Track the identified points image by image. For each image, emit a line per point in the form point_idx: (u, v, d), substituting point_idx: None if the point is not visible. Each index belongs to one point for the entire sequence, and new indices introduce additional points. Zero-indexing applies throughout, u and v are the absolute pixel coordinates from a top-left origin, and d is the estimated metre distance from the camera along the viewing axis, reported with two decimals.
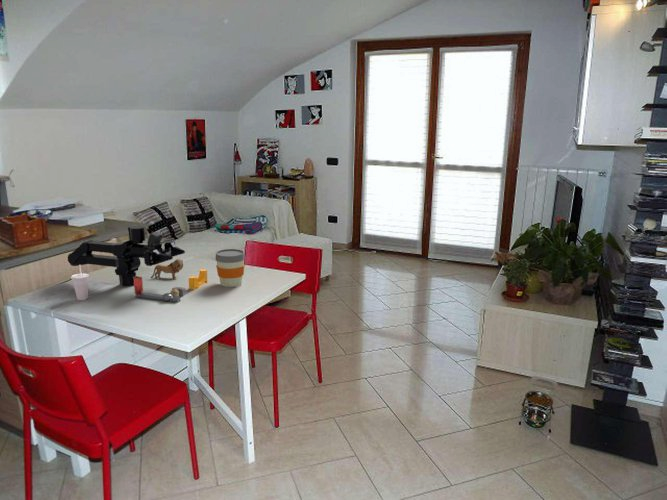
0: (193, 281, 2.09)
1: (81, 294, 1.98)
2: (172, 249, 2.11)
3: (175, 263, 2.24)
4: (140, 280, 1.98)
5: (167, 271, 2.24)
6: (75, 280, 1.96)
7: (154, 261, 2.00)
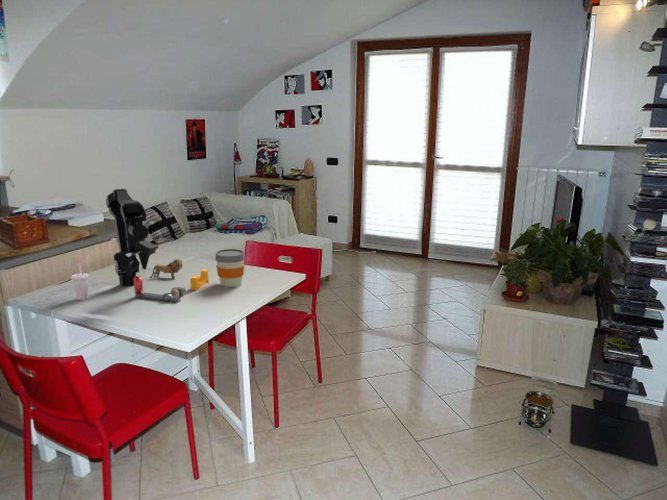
0: (195, 282, 2.09)
1: (81, 294, 1.98)
2: (144, 255, 2.01)
3: (174, 263, 2.24)
4: (140, 280, 1.98)
5: (166, 271, 2.24)
6: (75, 280, 1.96)
7: None
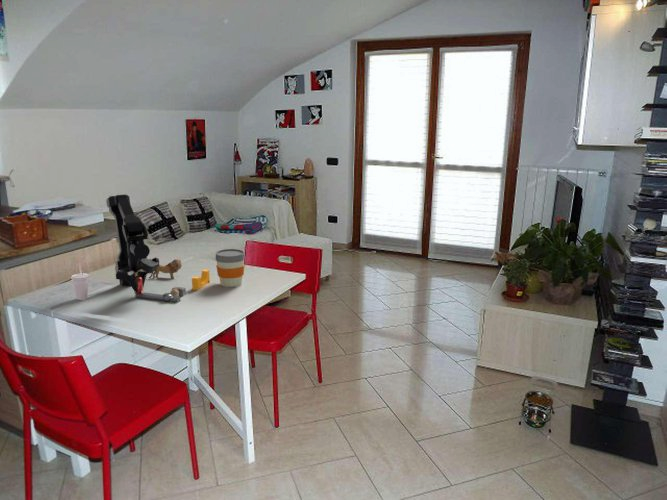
0: (196, 282, 2.09)
1: (81, 294, 1.98)
2: (142, 274, 2.00)
3: (173, 263, 2.24)
4: (140, 280, 1.98)
5: (165, 271, 2.24)
6: (75, 280, 1.96)
7: None
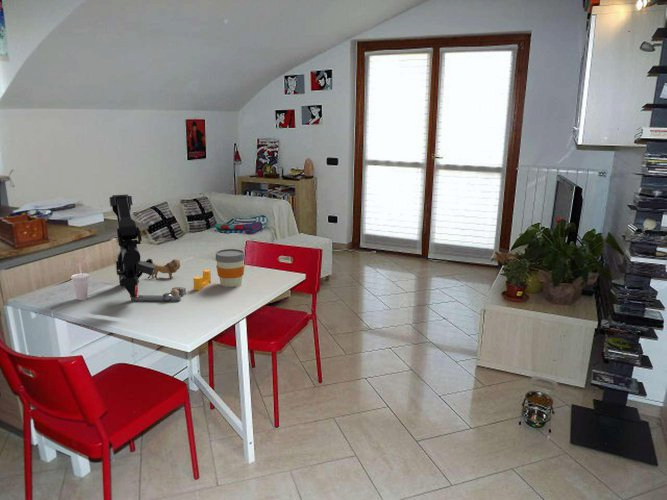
0: (198, 282, 2.09)
1: (81, 294, 1.98)
2: None
3: (172, 263, 2.24)
4: None
5: (164, 271, 2.24)
6: (75, 280, 1.96)
7: None
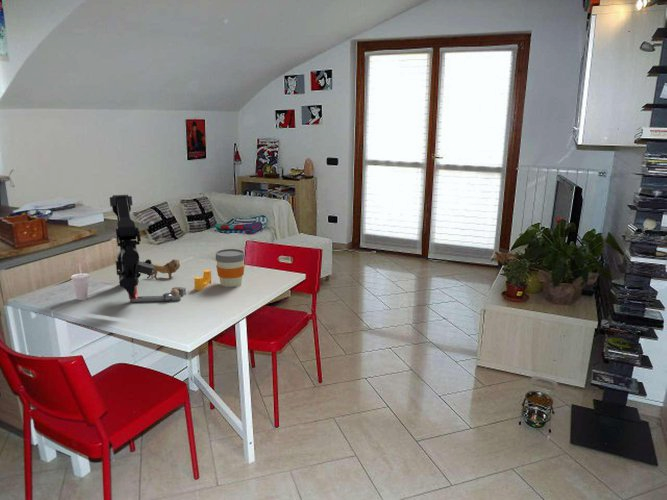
0: (199, 282, 2.08)
1: (81, 294, 1.98)
2: None
3: (172, 263, 2.24)
4: None
5: (164, 271, 2.24)
6: (75, 280, 1.96)
7: None
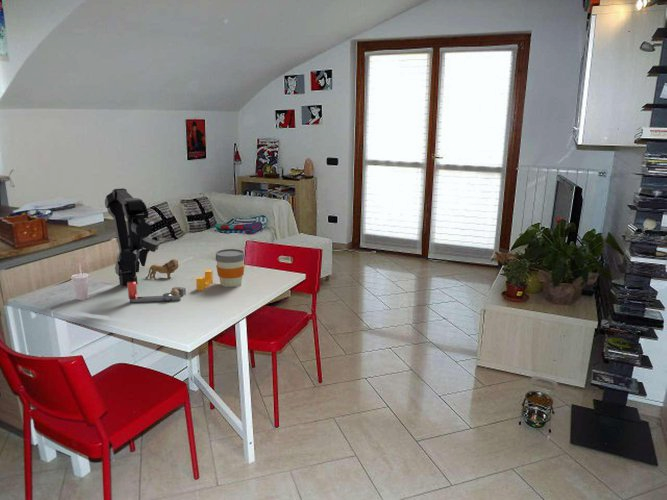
0: (201, 282, 2.08)
1: (81, 294, 1.98)
2: (143, 251, 2.02)
3: (170, 263, 2.24)
4: (135, 284, 1.93)
5: (162, 271, 2.24)
6: (75, 280, 1.96)
7: None
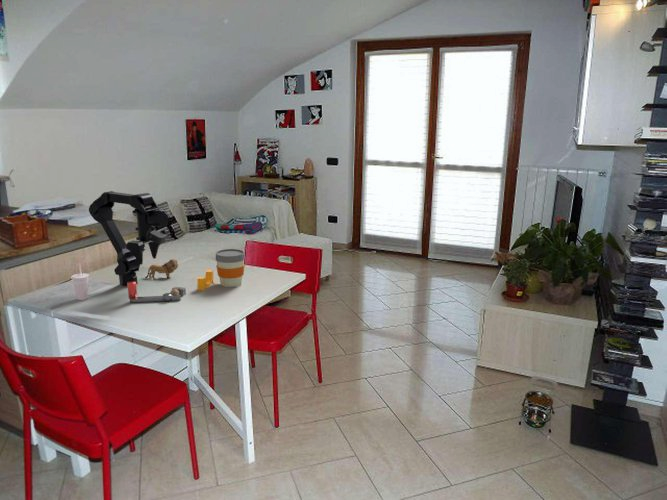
0: (202, 282, 2.08)
1: (81, 294, 1.98)
2: (154, 244, 2.10)
3: (169, 263, 2.24)
4: (135, 284, 1.93)
5: (161, 271, 2.24)
6: (75, 280, 1.96)
7: None
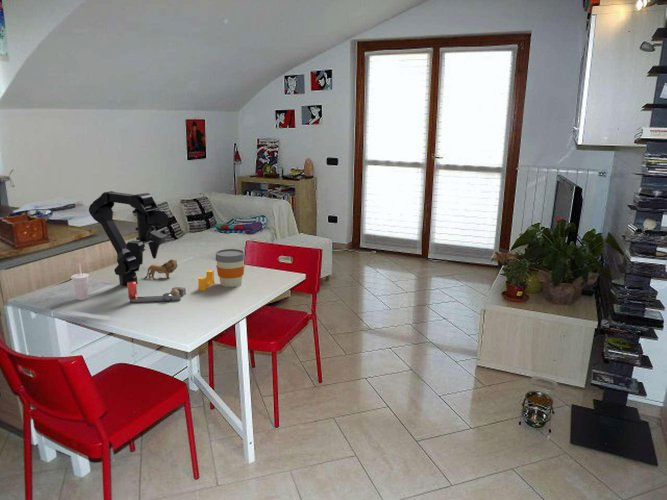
0: (203, 282, 2.08)
1: (81, 294, 1.98)
2: (154, 244, 2.10)
3: (169, 263, 2.24)
4: (135, 284, 1.93)
5: (161, 271, 2.24)
6: (75, 280, 1.96)
7: None
